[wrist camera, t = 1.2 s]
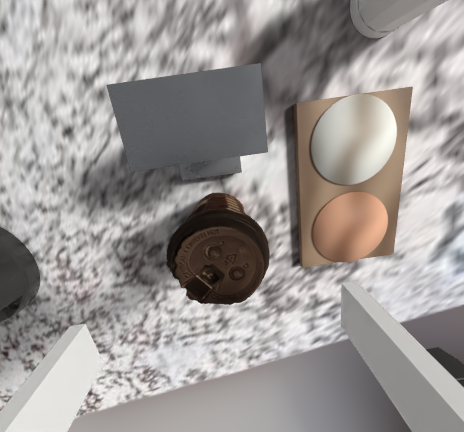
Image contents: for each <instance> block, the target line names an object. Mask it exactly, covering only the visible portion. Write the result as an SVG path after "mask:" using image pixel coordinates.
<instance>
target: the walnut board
mask: <svg viewBox="0 0 464 432" xmlns="http://www.w3.org/2000/svg"><path fill="white" fill-rule="evenodd" d="M412 88H413V87H406V88H399V89H392V90H385V91H378V92H371V93H364V94H355V95H350V96H343V97H336V98H330V99H323V100H316V101H309V102H302V103H296V104H294V105H293V112H294V137H295V161H296V186H297V210H298V234H299V259H300V264H301V266H302V267H309V266H316V265H323V264H329V263H336V262H351V261H355V260H358V259H363V258H370V257H377V256H383V255H390V254H393V253H394V244H395V235H396V227H397V218H398V209H399V201H400V192H401V183H402V175H403V166H404V158H405V149H406V140H407V132H408V123H409V114H410V106H411V97H412Z"/></svg>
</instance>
